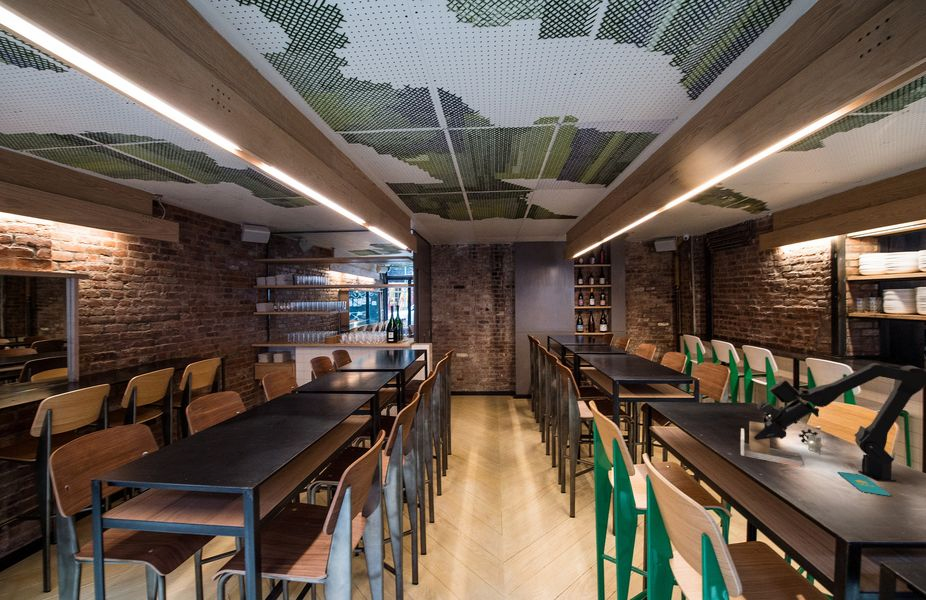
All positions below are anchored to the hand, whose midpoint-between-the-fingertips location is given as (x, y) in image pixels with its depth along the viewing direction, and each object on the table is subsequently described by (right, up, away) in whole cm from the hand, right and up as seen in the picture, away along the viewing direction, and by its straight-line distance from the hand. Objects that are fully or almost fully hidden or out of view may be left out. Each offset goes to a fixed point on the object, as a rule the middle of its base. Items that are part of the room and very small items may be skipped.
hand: (754, 435), depth 151 cm
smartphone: (+17, -8, -24) cm, 30 cm away
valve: (+26, -7, +4) cm, 27 cm away
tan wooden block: (+1, -6, -1) cm, 6 cm away
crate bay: (+4, -7, -3) cm, 8 cm away
